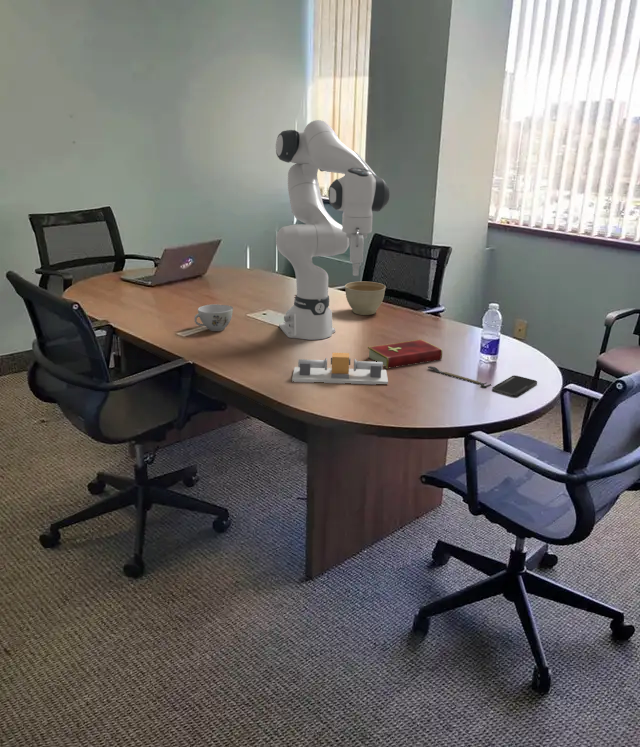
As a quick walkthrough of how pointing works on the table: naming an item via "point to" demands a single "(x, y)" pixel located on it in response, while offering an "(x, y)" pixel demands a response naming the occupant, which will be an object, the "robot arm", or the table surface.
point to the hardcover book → (405, 353)
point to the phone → (514, 386)
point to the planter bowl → (364, 296)
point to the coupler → (340, 363)
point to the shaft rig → (359, 375)
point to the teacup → (214, 316)
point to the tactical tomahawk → (459, 377)
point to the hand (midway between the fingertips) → (355, 272)
